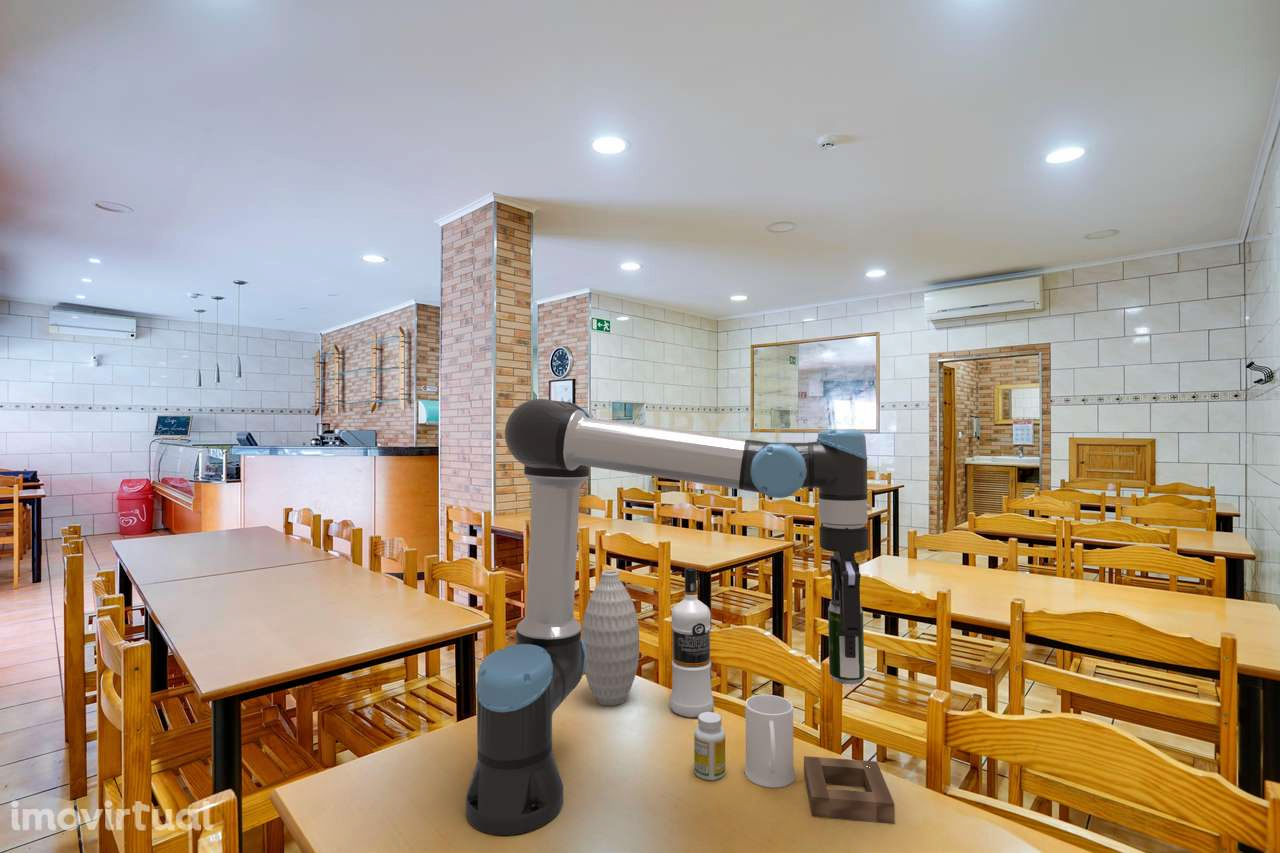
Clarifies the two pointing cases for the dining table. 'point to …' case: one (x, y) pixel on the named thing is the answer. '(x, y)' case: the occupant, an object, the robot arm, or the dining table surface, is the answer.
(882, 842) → the dining table surface
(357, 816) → the dining table surface
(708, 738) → the supplement bottle
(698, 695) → the vodka
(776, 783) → the mug
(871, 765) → the holder
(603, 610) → the vase
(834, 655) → the beer can
